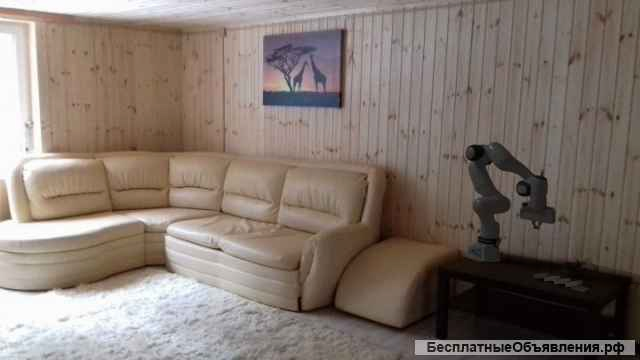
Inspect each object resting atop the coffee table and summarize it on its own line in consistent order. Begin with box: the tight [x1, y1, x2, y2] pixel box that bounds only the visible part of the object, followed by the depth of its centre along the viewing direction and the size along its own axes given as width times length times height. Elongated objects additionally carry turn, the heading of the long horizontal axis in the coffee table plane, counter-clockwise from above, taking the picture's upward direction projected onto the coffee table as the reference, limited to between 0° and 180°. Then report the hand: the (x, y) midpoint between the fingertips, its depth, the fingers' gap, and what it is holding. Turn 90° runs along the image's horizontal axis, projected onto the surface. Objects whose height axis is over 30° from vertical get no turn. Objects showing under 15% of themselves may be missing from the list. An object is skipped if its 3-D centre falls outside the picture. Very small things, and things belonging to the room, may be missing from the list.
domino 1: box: [532, 272, 551, 280], centre depth 313 cm, size 2×4×7 cm
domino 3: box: [553, 277, 572, 285], centre depth 305 cm, size 2×4×7 cm
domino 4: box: [564, 279, 583, 288], centre depth 298 cm, size 2×4×7 cm
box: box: [563, 261, 581, 279], centre depth 321 cm, size 6×6×7 cm
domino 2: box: [543, 275, 562, 282], centre depth 309 cm, size 2×4×7 cm
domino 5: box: [570, 285, 589, 293], centre depth 297 cm, size 2×4×7 cm
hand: (536, 229), depth 322 cm, fingers closed
